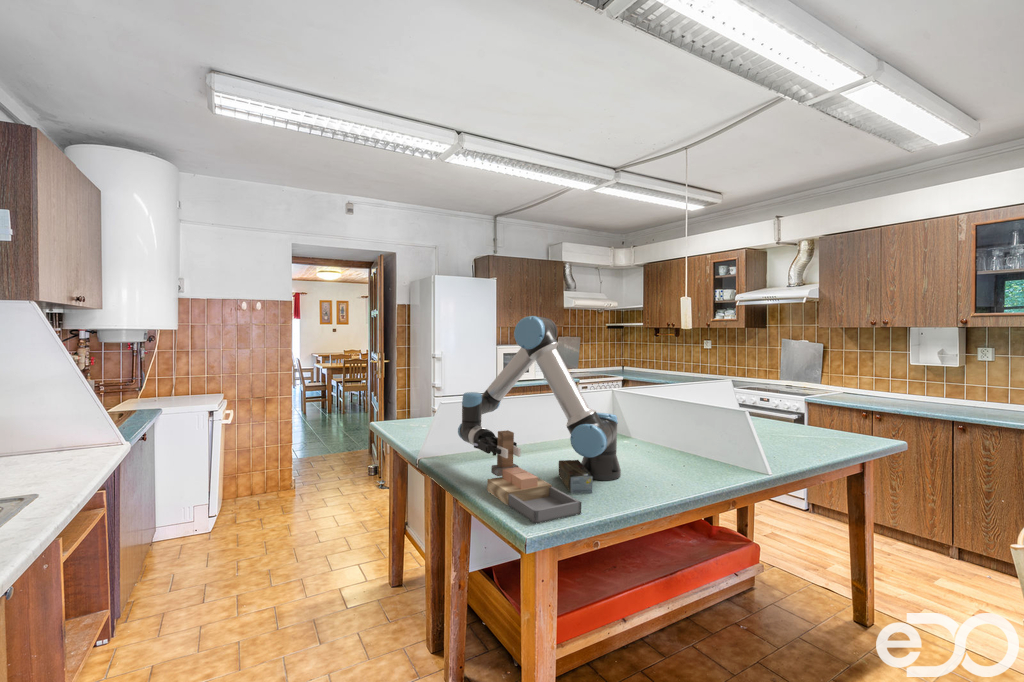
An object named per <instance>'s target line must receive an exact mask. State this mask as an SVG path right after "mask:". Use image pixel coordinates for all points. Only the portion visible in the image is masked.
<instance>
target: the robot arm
mask: <svg viewBox="0 0 1024 682" xmlns="http://www.w3.org/2000/svg"><path fill="white" fill-rule="evenodd" d="M558 336H559V335H558V326H557V324H556V323H555V322H554V321H553V320H552V319H551V318H548V317H546V316H537V315H530V316H525V317H523V318H521V319H520V320H518V322H517V323H516V325H515V328H514V332H513V337H514V340H515V342H516V344H517V345H518V346H519V347H520V348H519V350H518V351H517V352H516V354H515V355H513V357H512V358H511V359H510V361H508V363H507V364H506V365H505V367H504V368H503V369H502V370H501V371H500V373H499V374H498V375H497V376H496V377H495V378H494V380H493V381H492V382H491V383H490V384H489V386H488V387H487V389H486V390H485V391H484V392H483V393H480V392H477V391H470V392H469V391H468V392H465V393H463V394H462V401H461V423H460V424H459V426H458V428H457V434H458V436H459V437H460V439H461V440H463V441H464V442H465V443H469V444H470V445H472V446H473V448H474V449H478V450H480V451H482V452H483V453H486V454H492V456H494V457H495V456H497V454H498V455H500V456H502V457H504V458H508V450H507V449H505V448H503V447H501V446H498V436H496V435H495V433H494V432H493V431H492V430H489V429H487V428H485V427H483V426H482V415H485V414H488V413H492V412H494V411H495V410H497V409H499V408H500V405H501V401H503V399H504V398H505V396H506V395H507V394H508V393H509V392H510V391H511V390H512V388H513V387H514V386H515V385H516V384H517V382H519V380H520V379H521V378H522V377H523V375H524V374H525V373H526V372H527V371H528V370H529V368H531V366H532V365H533V364H534V362H536V363H537V366H538V367H539V369H540V370H541V372H542V373H541V374H542V375H543V376H544V378H545V380H546V383H547V384H548V386H549V388H550V389H551V392H552V393H553V395H554V397H555V399H556V400H557V403H558V404H559V406H560V408H561V410H562V411H563V413H564V415H565V417H566V419H567V421H566V425H565V426H566V428H567V430H568V432H569V434H570V437H569V438H570V439H569V441H570V444H571V447H572V449H573V450H574V451H575V453H577V455H579V456H581V457H582V460H581V461H580V462H581V463H582V465H583V466H584V467H585V468H586V469H587V471H588V472H589V473H590V474H591V476H592V480H596V481H613V479H614V480H617V478H618V479H619V477H620V478H621V476H622V475H621V474H622V470H621V466H620V462H619V459H618V455H617V448H618V447H617V445H618V444H617V443H618V442H617V439H618V423H619V422H618V416H617V415H615V414H614V413H605V412H597V410H596V409H595V410H594V409H591V408H590V407H589V405H588V404H587V402H586V400H585V398H584V396H583V395H582V392H581V391H580V389H579V386H577V383H576V382H575V380H574V378H573V376H572V375H571V373H570V371H569V369H568V367H567V365H566V363H565V361H564V360H563V358H562V356H561V354H560V353H559V351H558V345H559V343H558V340H557V339H558ZM521 449H522V448H520V447H519V446H518V445H517V442H515V441H514V447H513V456H516V457H518V458H520V457H521Z"/></svg>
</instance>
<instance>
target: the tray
mask: <svg viewBox="0 0 1024 682" xmlns="http://www.w3.org/2000/svg"><path fill="white" fill-rule="evenodd" d="M507 506H508V507H510V508H511V509H513V510H514V511H516V513H518V514H520V515H521V516H522V517H524V518H526V519H527V520H528V519H529V521H530V522H531V521H532V522H531V523H533V524H534V523H535V524H534V525H536V523H537V524H541V523H540V522H542V523H546V522H550V521H549V520H551V521H554V520H553V519H556V520H559V519H558V518H560V519H563V518H562V517H565V518H568V517H567V516H569V517H572V516H571V515H574V516H577V515H576V514H578V515H581V514H582V501H580V500H579V499H577V498H576V497H575V498H574V497H573V496H571V495H569V494H568V493H565V492H563V491H562V490H561V489H560V490H559V489H558V488H555V487H554V486H552V487H550V494H549V497H544V498H539V499H533V500H528V501H522V500H520V499H519V498H517V497H516V496H514V495H513V494H509V502H508V505H507ZM580 513H581V514H580ZM545 521H546V522H545Z"/></svg>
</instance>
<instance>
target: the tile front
mask: <svg viewBox="0 0 1024 682" xmlns="http://www.w3.org/2000/svg"><path fill="white" fill-rule="evenodd" d="M538 478H539V477H538V476H537V475H534V473H531V472H530V471H527V472H524V473H517V474H512V484H513V485H515V486H517V487H518V488H520V489H526V488H531V487H537V486H538Z"/></svg>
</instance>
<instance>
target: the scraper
mask: <svg viewBox="0 0 1024 682" xmlns="http://www.w3.org/2000/svg"><path fill="white" fill-rule="evenodd" d="M514 437H515V432H513V431H512V430H499V431H497V438H498V446H501V447H503V448H505V449H507V450H508V458H504V457H502V456H500V455H498V454H497V453H496V456H497V457H496V464H494V465H493V464H492V465H491V474H492V475H495V476H496V477H502V469H506V468H513V467H519V465H517V464H515V463H514V454H513V447H514V442H515V441H514V440H515V438H514Z"/></svg>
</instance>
